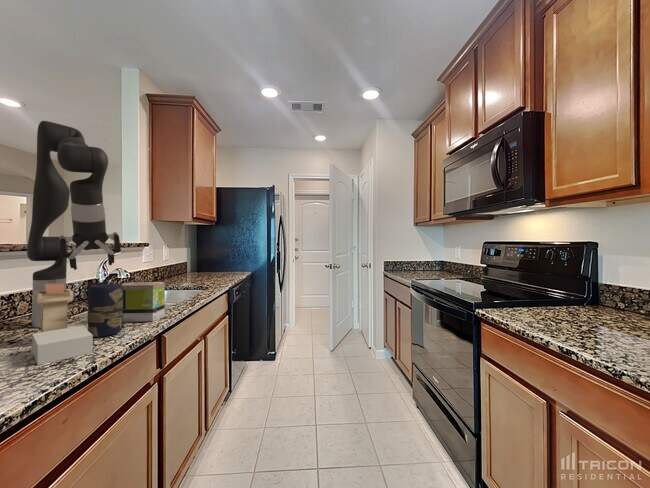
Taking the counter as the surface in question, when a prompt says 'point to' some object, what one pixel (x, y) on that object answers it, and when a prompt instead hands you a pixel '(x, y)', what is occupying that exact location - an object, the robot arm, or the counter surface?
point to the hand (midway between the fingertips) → (93, 266)
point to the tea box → (143, 301)
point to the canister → (105, 309)
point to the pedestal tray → (53, 309)
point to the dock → (61, 344)
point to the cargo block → (54, 288)
